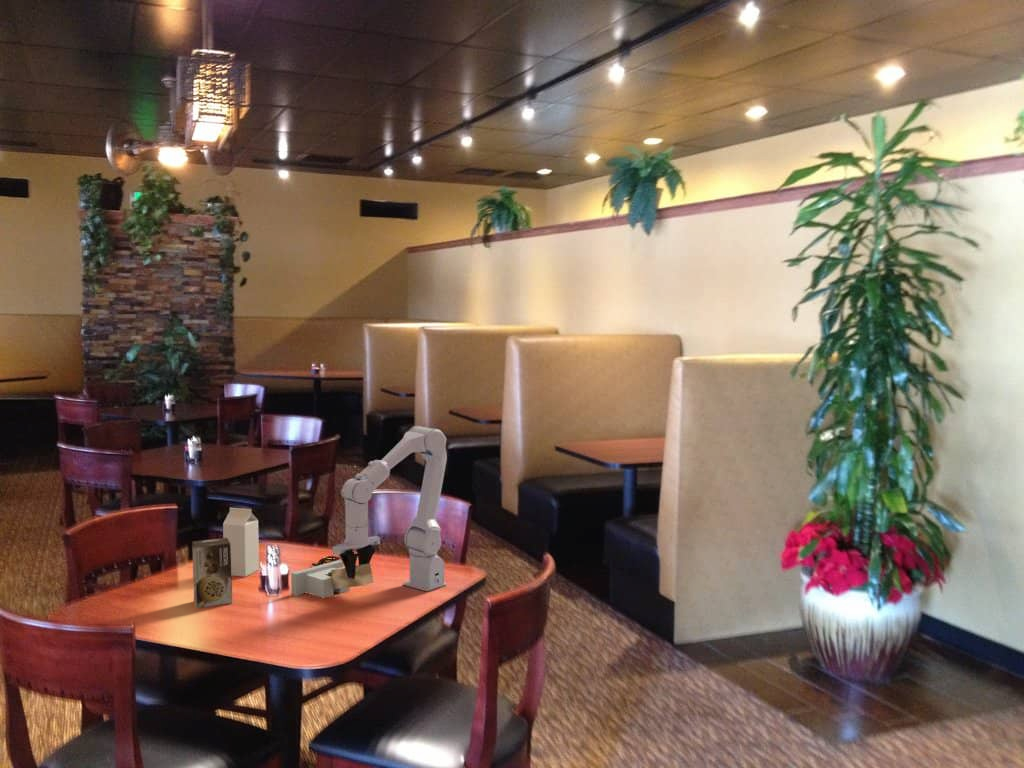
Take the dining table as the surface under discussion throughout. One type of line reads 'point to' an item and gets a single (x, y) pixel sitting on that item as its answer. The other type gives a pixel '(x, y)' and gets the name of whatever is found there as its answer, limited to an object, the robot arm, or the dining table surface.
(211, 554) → the grey food box
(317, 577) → the grey stepped block
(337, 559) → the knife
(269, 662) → the dining table surface
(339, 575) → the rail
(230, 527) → the milk carton
